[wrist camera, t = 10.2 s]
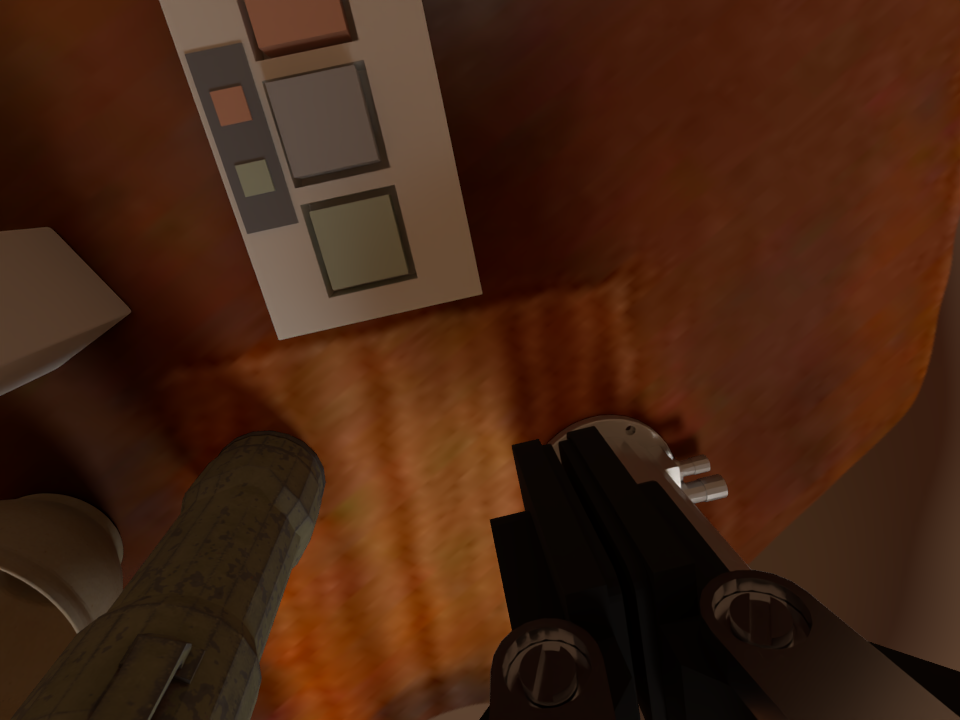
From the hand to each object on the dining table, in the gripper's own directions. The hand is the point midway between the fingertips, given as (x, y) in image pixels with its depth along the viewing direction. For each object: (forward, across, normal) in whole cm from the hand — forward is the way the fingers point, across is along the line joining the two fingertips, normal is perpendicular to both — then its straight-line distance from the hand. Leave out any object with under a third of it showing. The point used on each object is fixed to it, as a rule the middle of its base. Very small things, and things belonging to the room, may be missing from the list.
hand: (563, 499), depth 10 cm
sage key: (+28, +6, -4) cm, 29 cm away
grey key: (+26, +6, -11) cm, 29 cm away
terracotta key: (+28, +6, -18) cm, 34 cm away
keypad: (+29, +6, -11) cm, 32 cm away
